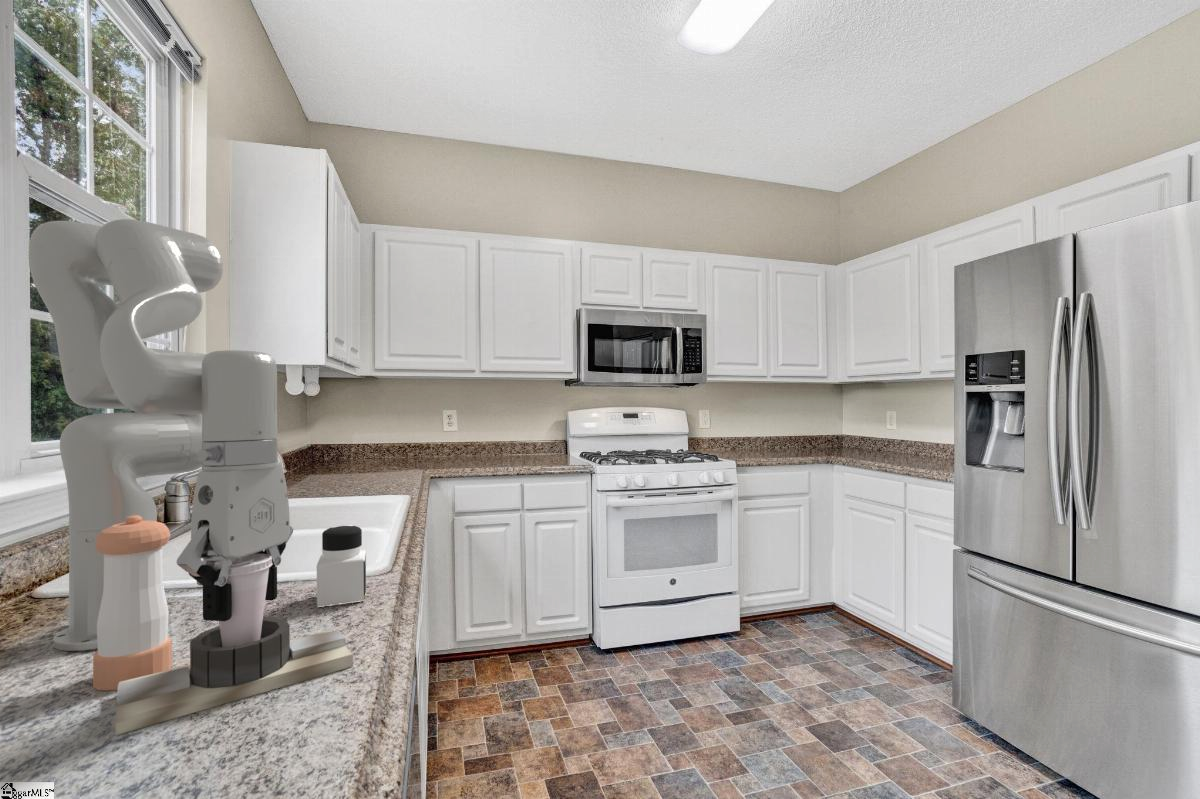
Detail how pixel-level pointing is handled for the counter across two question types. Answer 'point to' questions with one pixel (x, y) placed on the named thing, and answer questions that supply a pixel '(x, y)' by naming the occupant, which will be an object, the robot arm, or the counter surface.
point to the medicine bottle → (341, 566)
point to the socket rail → (226, 694)
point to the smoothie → (246, 599)
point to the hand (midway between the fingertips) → (241, 607)
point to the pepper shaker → (132, 604)
